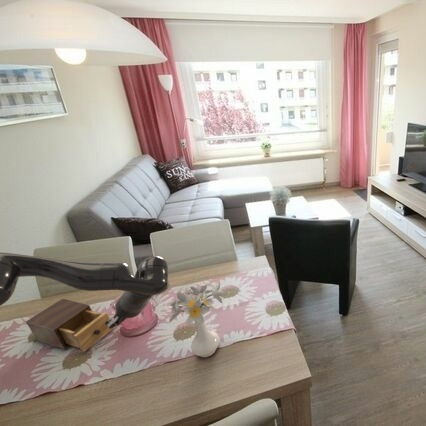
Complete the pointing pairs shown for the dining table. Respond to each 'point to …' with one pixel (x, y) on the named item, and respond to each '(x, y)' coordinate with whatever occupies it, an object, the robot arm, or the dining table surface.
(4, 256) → the robot arm
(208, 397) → the dining table surface
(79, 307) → the wooden drawer box
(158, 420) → the dining table surface
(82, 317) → the wooden drawer with knob
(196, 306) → the flower vase
